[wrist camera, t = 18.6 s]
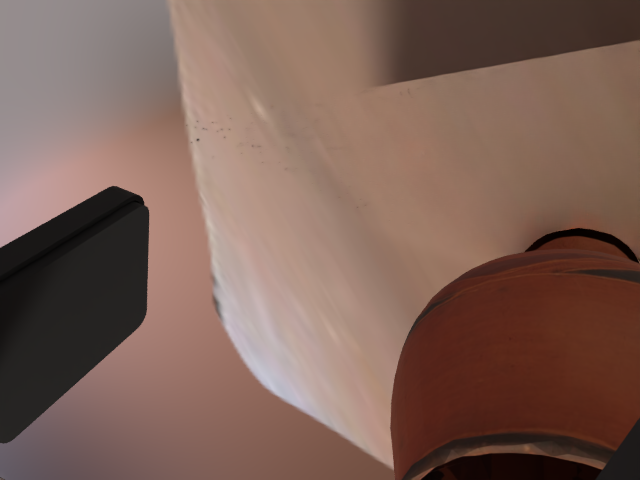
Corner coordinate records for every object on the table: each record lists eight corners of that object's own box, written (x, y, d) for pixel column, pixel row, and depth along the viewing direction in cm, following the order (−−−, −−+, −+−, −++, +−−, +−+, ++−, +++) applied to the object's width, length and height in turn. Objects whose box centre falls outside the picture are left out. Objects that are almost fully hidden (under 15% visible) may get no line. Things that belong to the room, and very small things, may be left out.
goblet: (415, 313, 52) (296, 567, 32) (511, 116, 41) (424, 311, 21) (629, 418, 48) (647, 779, 28) (796, 232, 38) (1016, 600, 18)
